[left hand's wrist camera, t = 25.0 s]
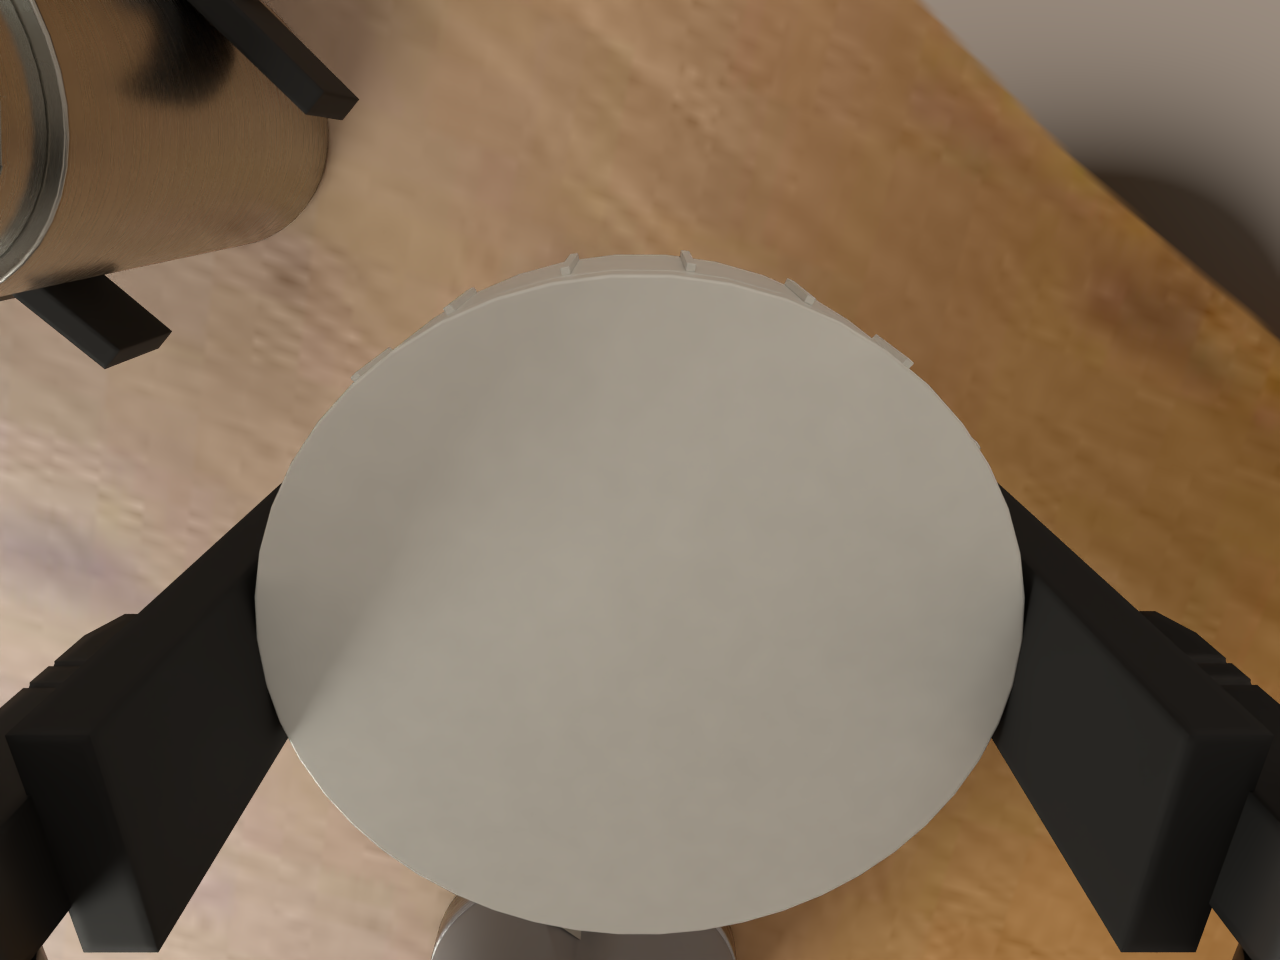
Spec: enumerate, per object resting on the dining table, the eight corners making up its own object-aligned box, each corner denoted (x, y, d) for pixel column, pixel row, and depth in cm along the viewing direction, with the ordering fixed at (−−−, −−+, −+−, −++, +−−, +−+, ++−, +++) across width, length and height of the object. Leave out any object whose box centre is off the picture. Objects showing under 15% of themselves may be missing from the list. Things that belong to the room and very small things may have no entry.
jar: (342, 9, 26) (-12, -174, 12) (315, 273, 29) (9, 379, 15) (68, -68, 25) (-668, -363, 11) (70, 212, 28) (-502, 263, 14)
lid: (826, 103, 10) (868, 90, 8) (1048, 712, 13) (1114, 802, 11) (168, 443, 11) (79, 498, 9) (516, 908, 15) (499, 1013, 13)
